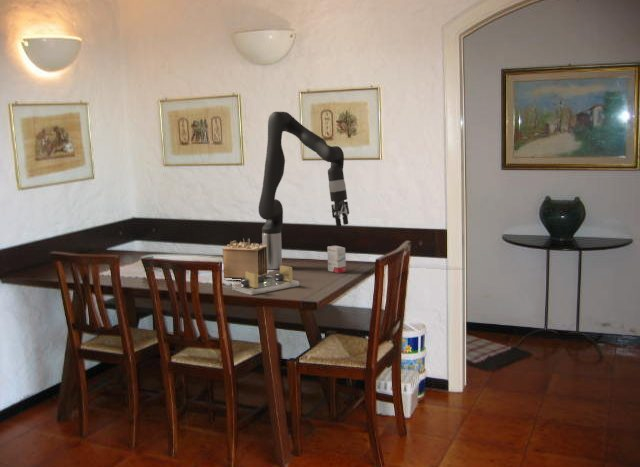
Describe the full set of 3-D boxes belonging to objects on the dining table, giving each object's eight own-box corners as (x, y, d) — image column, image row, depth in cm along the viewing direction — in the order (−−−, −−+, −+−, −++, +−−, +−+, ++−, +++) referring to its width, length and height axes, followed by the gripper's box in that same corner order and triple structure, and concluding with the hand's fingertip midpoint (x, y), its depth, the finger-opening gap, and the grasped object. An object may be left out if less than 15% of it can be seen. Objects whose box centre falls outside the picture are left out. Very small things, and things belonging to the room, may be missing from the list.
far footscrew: (272, 278, 319) (272, 265, 318) (282, 277, 322) (281, 263, 322) (286, 282, 312) (285, 268, 311) (295, 280, 315) (295, 266, 315)
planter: (222, 286, 317) (222, 243, 314) (214, 275, 341) (214, 235, 338) (279, 284, 324) (279, 242, 321) (267, 273, 348) (267, 234, 345)
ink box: (346, 272, 343) (346, 247, 341) (337, 273, 340) (337, 248, 339) (336, 269, 350) (335, 245, 349) (327, 270, 348) (326, 246, 346)
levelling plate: (231, 289, 310) (231, 278, 310) (278, 280, 326) (278, 270, 326) (251, 294, 299) (251, 283, 299) (299, 285, 315) (298, 275, 315)
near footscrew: (238, 285, 308) (237, 271, 307) (248, 283, 311) (248, 269, 310) (251, 288, 301) (250, 274, 300) (261, 286, 304) (261, 272, 303)
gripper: (336, 190, 341) (340, 224, 343) (324, 192, 328) (328, 228, 330) (351, 188, 338) (355, 223, 340) (339, 190, 325) (344, 226, 327)
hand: (342, 225), depth 335 cm, fingers open, 8 cm apart
